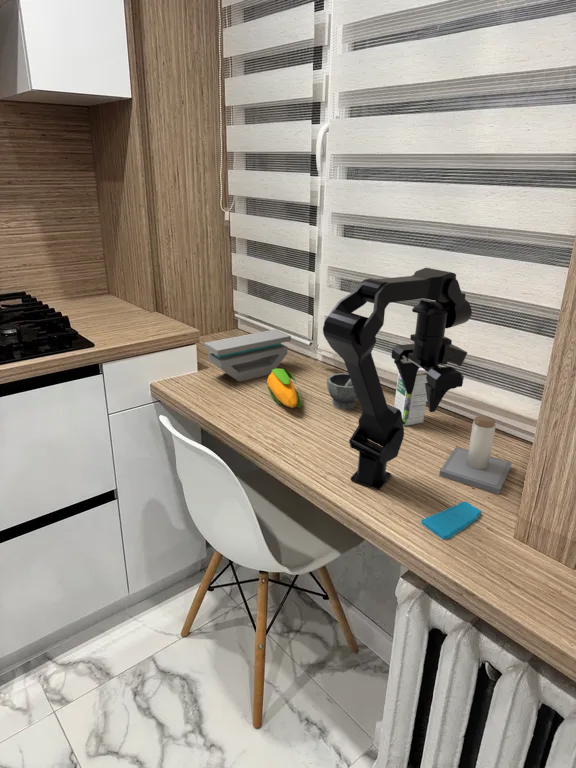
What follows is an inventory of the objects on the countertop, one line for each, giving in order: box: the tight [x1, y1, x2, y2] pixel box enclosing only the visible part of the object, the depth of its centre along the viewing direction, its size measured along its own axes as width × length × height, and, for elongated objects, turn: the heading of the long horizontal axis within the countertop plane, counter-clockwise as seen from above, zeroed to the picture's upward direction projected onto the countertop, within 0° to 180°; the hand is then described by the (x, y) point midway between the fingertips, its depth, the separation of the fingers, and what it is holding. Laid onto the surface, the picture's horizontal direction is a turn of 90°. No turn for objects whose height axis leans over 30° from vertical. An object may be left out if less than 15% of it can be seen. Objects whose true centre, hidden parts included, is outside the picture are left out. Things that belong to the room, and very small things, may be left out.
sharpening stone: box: [203, 329, 292, 382], centre depth 158 cm, size 25×8×11 cm, turn 125°
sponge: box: [421, 501, 482, 540], centre depth 97 cm, size 2×12×6 cm
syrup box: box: [393, 368, 428, 427], centre depth 131 cm, size 6×6×14 cm
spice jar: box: [467, 415, 497, 469], centre depth 111 cm, size 4×4×10 cm
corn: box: [266, 367, 302, 409], centre depth 142 cm, size 7×8×20 cm
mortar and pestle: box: [326, 372, 358, 410], centre depth 139 cm, size 11×9×12 cm
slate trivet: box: [439, 446, 512, 495], centre depth 112 cm, size 12×12×1 cm
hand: (420, 402), depth 113 cm, fingers open, 9 cm apart
